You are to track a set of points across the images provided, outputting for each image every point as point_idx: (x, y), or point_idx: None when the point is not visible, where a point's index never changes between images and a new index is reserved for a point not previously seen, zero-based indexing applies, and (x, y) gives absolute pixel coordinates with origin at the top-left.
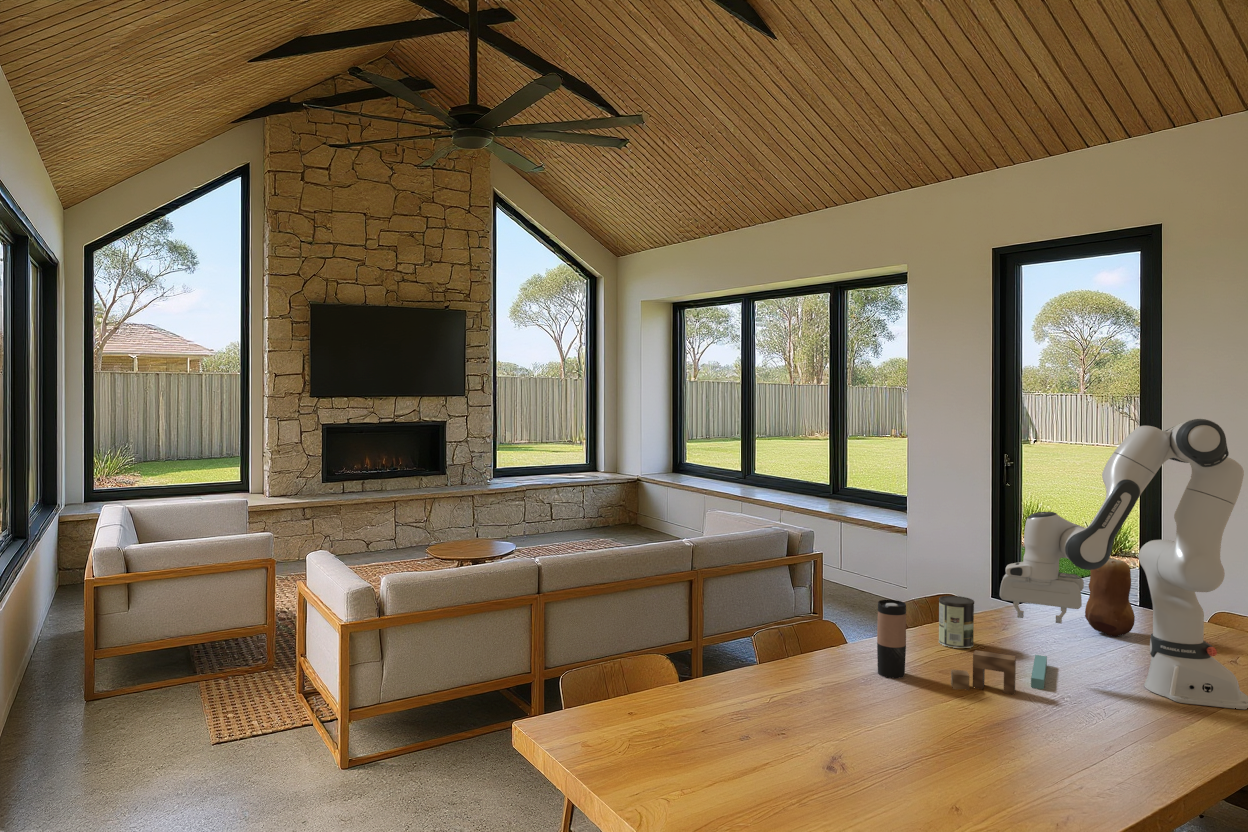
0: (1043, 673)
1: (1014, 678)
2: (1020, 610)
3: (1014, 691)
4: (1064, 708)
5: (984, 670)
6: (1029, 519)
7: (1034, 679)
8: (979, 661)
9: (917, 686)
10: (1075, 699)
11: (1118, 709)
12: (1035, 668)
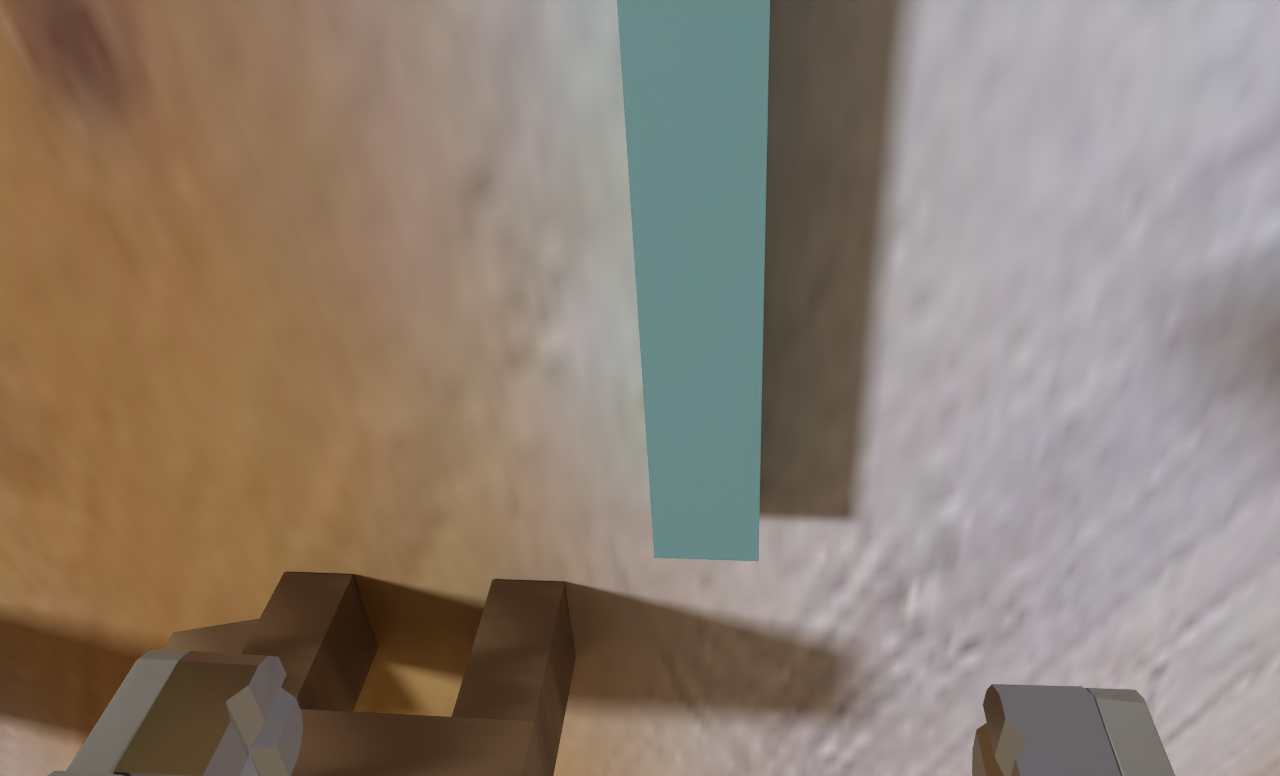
0: (751, 410)
1: (555, 756)
2: (127, 773)
3: (570, 650)
4: (890, 735)
5: (312, 672)
6: None
7: (683, 552)
8: None
9: (61, 727)
10: (988, 587)
11: (1275, 643)
12: (664, 293)
